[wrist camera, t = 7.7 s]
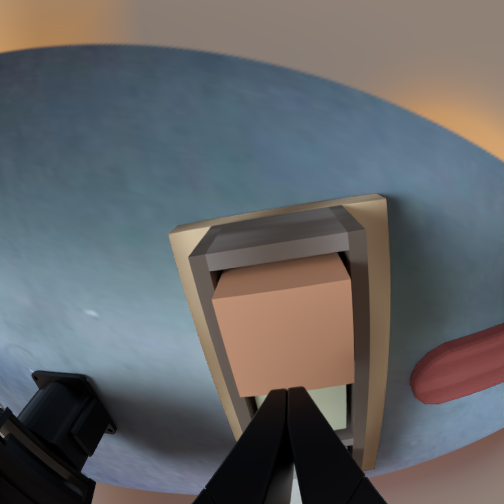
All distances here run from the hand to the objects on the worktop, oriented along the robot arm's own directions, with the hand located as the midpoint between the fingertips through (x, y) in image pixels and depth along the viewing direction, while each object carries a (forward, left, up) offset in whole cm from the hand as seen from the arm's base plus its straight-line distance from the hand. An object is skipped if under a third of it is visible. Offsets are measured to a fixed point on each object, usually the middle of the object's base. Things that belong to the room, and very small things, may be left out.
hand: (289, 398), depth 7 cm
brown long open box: (0, -8, -9) cm, 12 cm away
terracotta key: (0, 0, -5) cm, 5 cm away
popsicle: (+15, -10, -10) cm, 20 cm away
